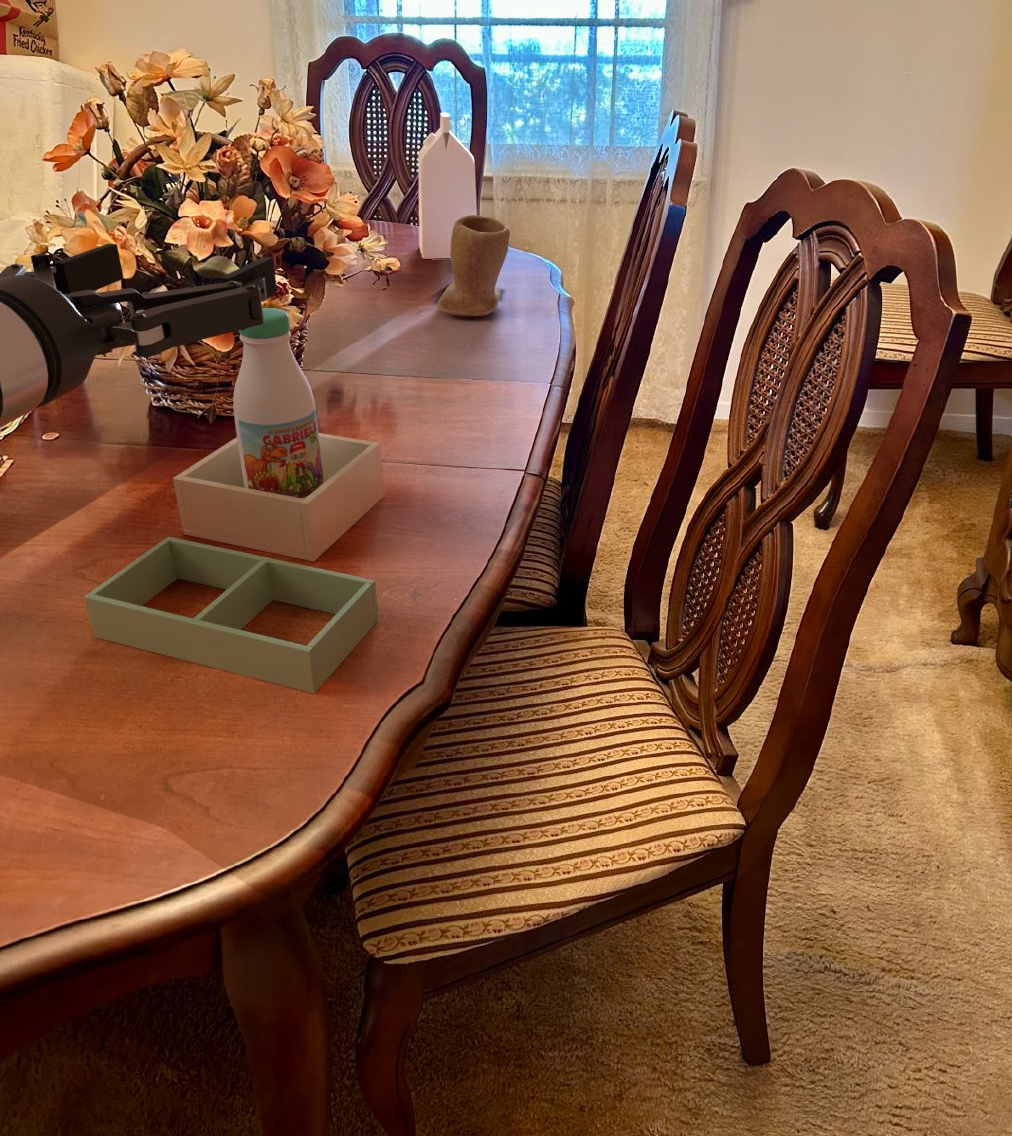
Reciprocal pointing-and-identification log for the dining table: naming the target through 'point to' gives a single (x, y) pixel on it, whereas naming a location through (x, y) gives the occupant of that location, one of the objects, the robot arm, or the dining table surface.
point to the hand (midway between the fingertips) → (192, 267)
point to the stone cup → (475, 266)
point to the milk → (443, 189)
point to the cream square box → (281, 500)
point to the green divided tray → (234, 612)
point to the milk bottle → (275, 413)
